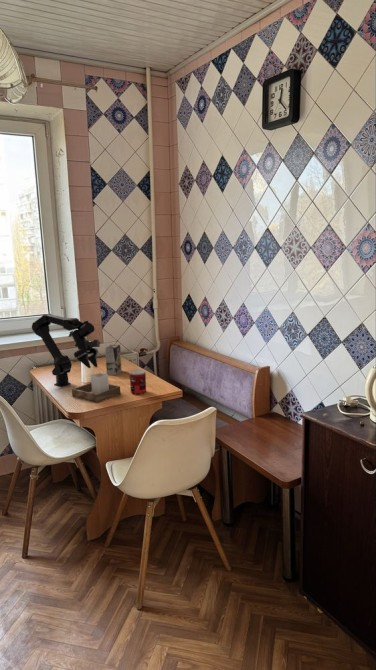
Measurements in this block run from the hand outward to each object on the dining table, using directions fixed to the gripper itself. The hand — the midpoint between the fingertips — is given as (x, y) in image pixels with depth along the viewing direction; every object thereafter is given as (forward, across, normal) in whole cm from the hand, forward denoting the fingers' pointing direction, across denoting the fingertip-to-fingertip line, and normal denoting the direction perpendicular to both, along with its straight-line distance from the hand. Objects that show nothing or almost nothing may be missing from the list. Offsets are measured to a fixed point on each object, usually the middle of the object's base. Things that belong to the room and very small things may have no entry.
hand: (93, 367), depth 245 cm
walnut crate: (+14, -4, +3) cm, 15 cm away
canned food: (+22, +3, -15) cm, 27 cm away
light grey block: (+14, -4, +1) cm, 15 cm away
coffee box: (+4, +36, +4) cm, 36 cm away
